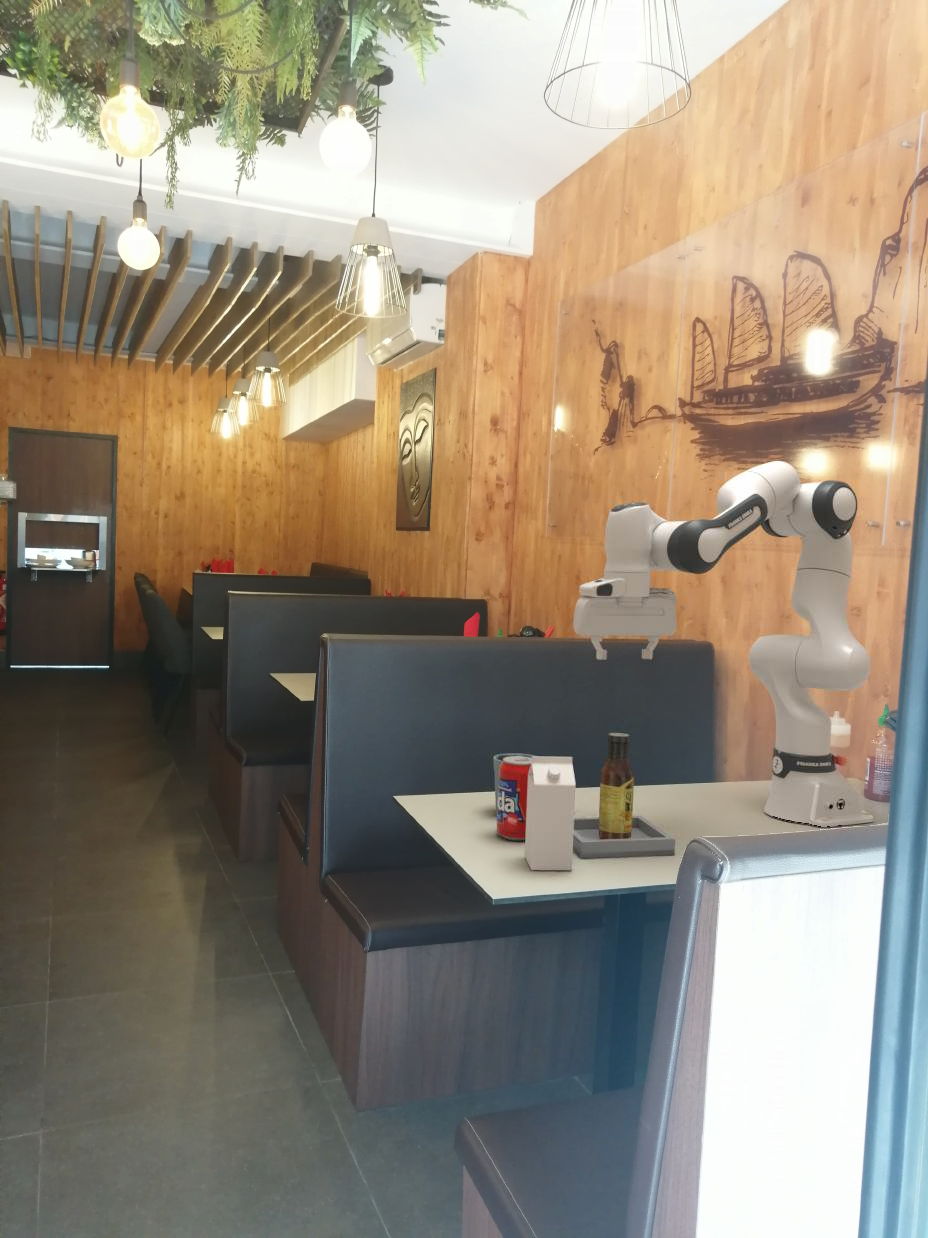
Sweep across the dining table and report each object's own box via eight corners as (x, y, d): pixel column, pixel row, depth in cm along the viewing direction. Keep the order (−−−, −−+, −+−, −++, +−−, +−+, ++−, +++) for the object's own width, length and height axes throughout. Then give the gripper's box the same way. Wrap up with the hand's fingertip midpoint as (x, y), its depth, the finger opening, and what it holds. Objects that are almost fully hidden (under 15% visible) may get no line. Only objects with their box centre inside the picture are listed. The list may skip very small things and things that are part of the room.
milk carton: (524, 857, 158) (528, 752, 157) (563, 857, 159) (568, 752, 158) (530, 871, 151) (535, 761, 150) (571, 871, 152) (576, 761, 151)
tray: (640, 830, 177) (641, 816, 177) (674, 855, 162) (675, 839, 162) (554, 833, 173) (555, 818, 173) (581, 859, 158) (582, 842, 158)
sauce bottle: (631, 845, 164) (636, 738, 163) (597, 842, 165) (601, 736, 164) (631, 835, 170) (636, 732, 169) (598, 832, 172) (603, 730, 171)
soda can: (544, 841, 168) (547, 763, 167) (506, 844, 165) (509, 764, 164) (526, 829, 175) (529, 754, 174) (490, 832, 172) (493, 755, 172)
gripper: (669, 587, 176) (666, 656, 177) (571, 586, 171) (569, 657, 172) (684, 588, 170) (681, 660, 171) (583, 587, 165) (581, 661, 166)
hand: (624, 659), depth 171 cm, fingers open, 8 cm apart
